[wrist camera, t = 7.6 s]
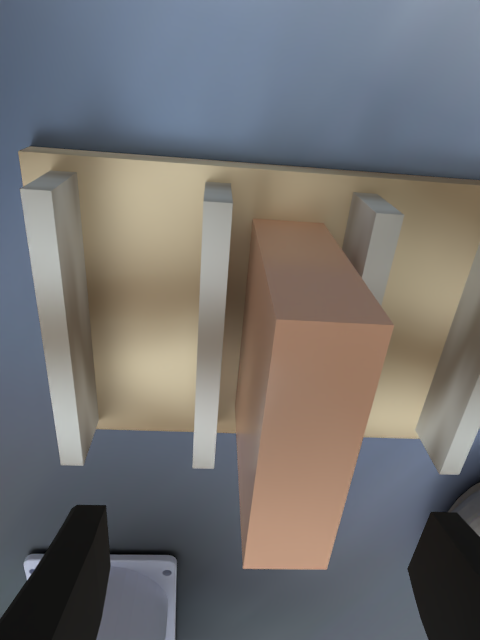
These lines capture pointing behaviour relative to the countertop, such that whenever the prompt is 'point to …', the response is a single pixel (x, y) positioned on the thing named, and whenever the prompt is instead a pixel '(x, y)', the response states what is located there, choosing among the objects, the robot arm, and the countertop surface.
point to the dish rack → (239, 290)
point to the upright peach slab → (302, 391)
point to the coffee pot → (469, 507)
